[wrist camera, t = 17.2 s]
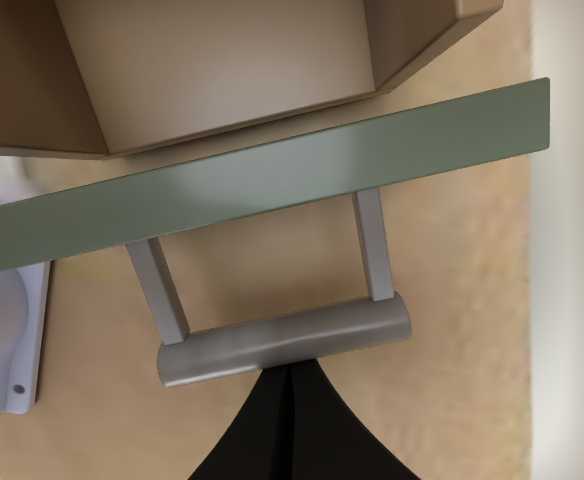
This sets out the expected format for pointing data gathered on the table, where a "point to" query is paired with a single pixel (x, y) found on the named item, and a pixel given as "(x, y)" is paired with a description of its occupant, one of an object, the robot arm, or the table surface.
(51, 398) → the table surface
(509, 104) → the drawer
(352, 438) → the robot arm
